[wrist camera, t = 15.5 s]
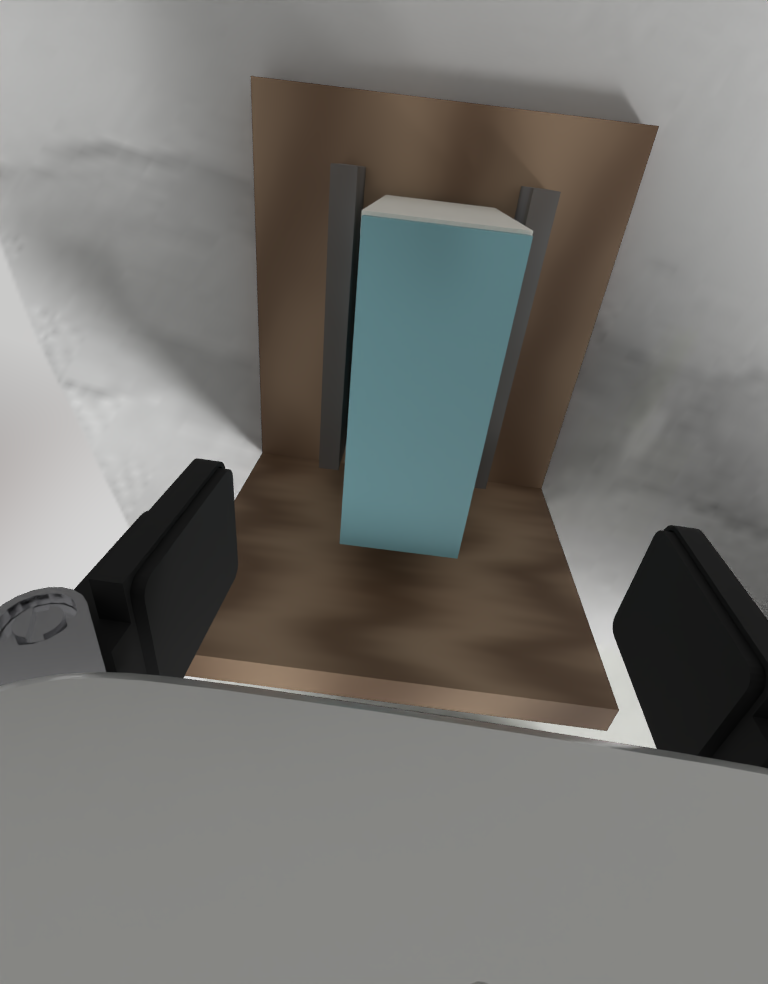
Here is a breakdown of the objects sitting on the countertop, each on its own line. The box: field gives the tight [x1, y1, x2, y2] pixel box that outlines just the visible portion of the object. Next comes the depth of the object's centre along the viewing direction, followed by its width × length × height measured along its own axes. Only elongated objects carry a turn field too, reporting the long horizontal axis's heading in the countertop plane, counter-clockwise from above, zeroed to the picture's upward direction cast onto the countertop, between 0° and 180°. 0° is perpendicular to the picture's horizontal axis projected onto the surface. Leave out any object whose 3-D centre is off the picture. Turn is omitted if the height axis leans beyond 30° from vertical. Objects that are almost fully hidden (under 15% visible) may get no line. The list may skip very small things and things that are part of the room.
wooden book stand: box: [185, 76, 659, 731], centre depth 19 cm, size 16×18×16 cm
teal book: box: [340, 195, 533, 559], centre depth 20 cm, size 5×11×10 cm, turn 174°
